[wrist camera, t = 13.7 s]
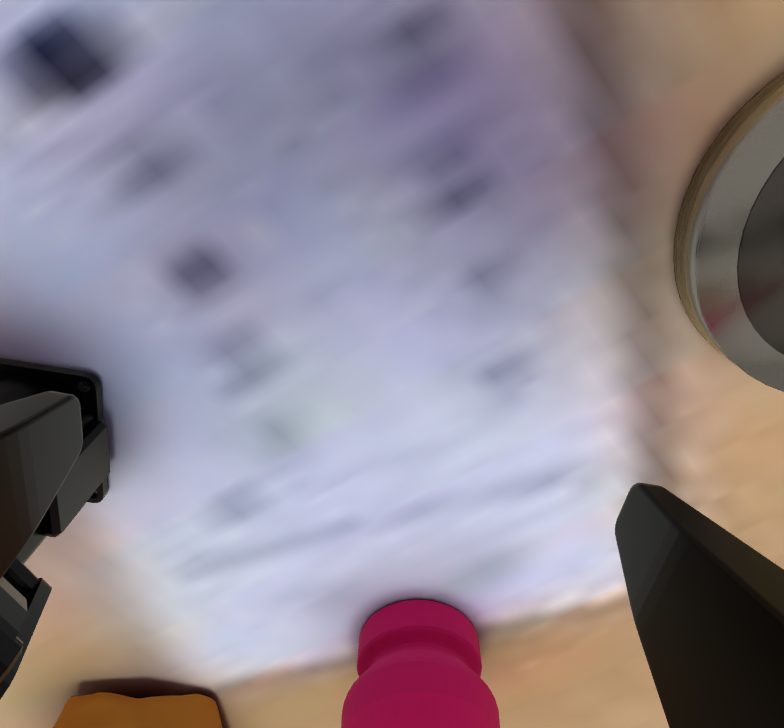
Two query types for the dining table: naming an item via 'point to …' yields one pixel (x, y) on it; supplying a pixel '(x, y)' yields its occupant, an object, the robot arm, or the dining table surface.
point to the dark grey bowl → (739, 240)
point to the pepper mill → (419, 671)
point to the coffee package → (139, 712)
